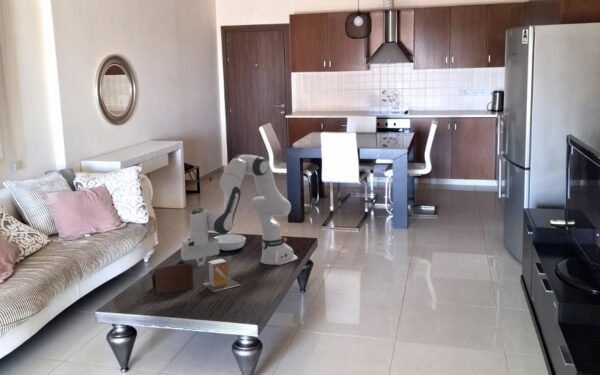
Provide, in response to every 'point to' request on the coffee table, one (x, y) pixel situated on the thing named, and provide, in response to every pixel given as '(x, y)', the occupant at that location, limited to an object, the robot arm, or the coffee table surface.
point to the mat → (215, 289)
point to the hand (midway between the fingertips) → (201, 265)
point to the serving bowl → (230, 242)
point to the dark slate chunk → (192, 262)
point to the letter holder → (173, 278)
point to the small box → (218, 273)
